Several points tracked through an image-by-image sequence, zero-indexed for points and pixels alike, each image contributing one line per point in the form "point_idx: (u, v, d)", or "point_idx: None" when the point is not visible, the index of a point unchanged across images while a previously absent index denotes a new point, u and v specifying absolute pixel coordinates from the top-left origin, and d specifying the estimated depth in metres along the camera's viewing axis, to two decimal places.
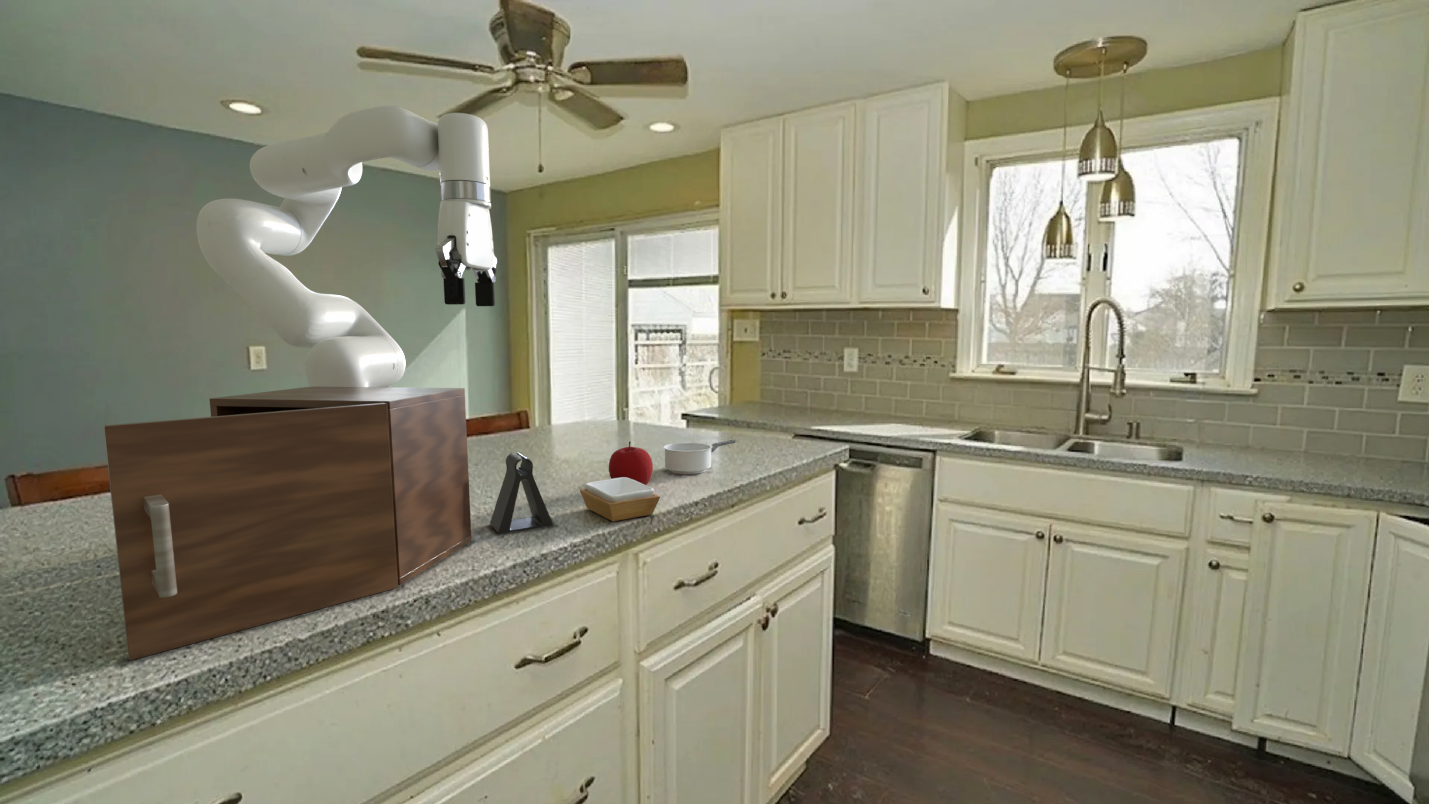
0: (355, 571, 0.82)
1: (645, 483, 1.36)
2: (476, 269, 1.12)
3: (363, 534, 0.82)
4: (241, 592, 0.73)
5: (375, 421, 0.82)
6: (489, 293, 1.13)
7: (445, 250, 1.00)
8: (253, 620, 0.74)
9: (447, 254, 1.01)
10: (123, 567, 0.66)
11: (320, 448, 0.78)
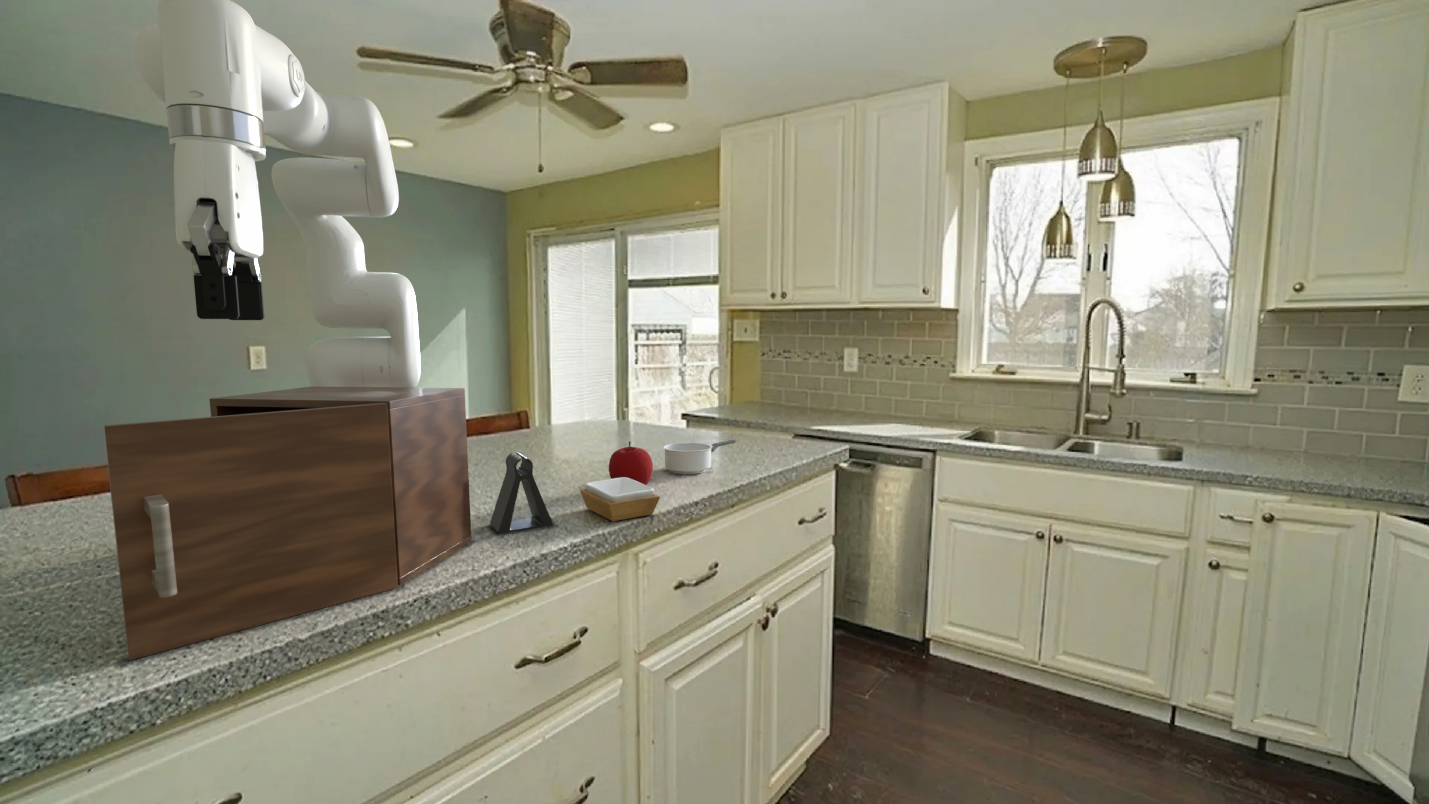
0: (355, 571, 0.82)
1: (645, 483, 1.36)
2: None
3: (363, 534, 0.82)
4: (241, 592, 0.73)
5: (375, 421, 0.82)
6: (255, 299, 0.70)
7: (207, 229, 0.59)
8: (253, 620, 0.74)
9: (209, 235, 0.59)
10: (123, 567, 0.66)
11: (320, 448, 0.78)
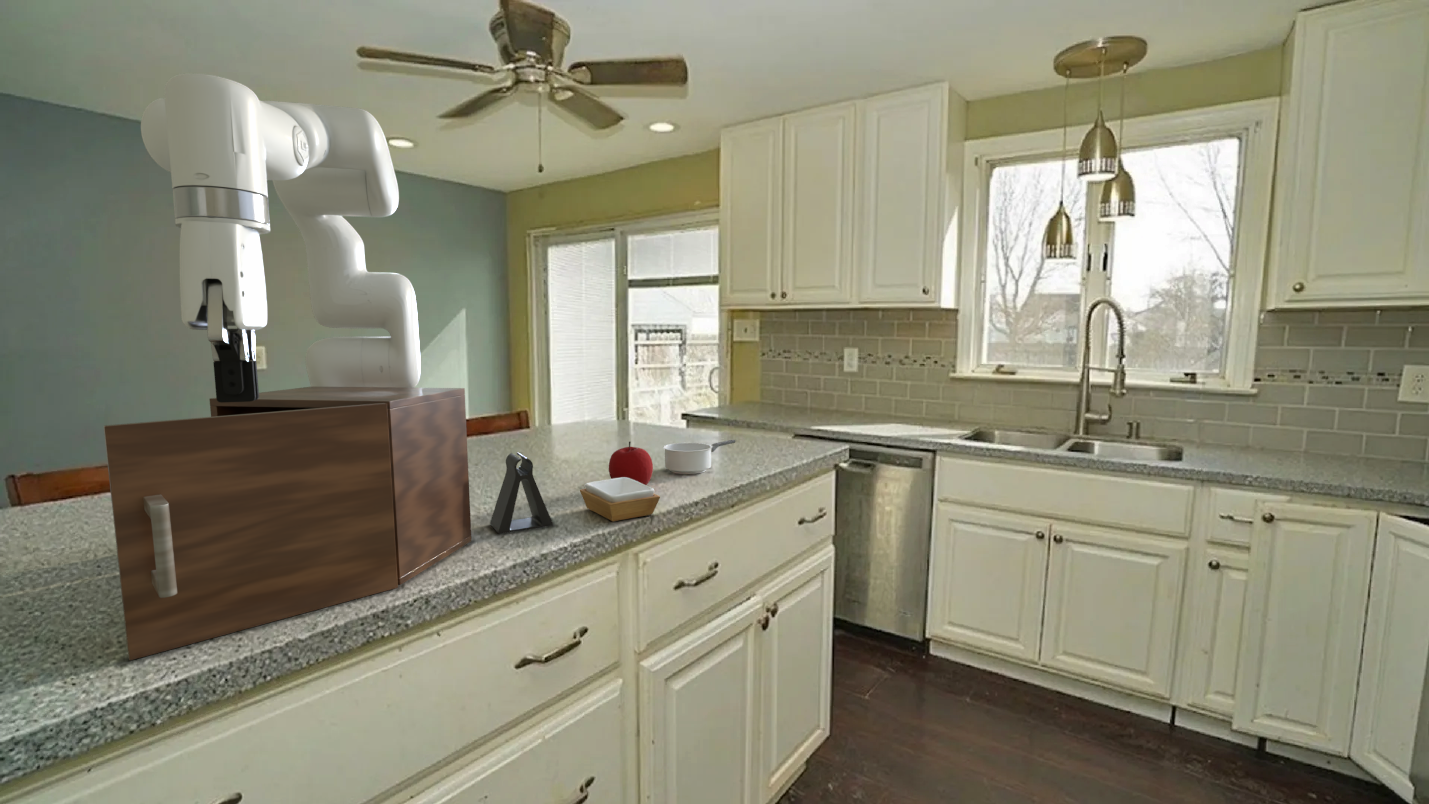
0: (355, 571, 0.82)
1: (645, 483, 1.36)
2: None
3: (363, 534, 0.82)
4: (241, 592, 0.73)
5: (375, 421, 0.82)
6: None
7: (225, 334, 0.62)
8: (253, 620, 0.74)
9: (227, 334, 0.63)
10: (123, 567, 0.66)
11: (320, 448, 0.78)
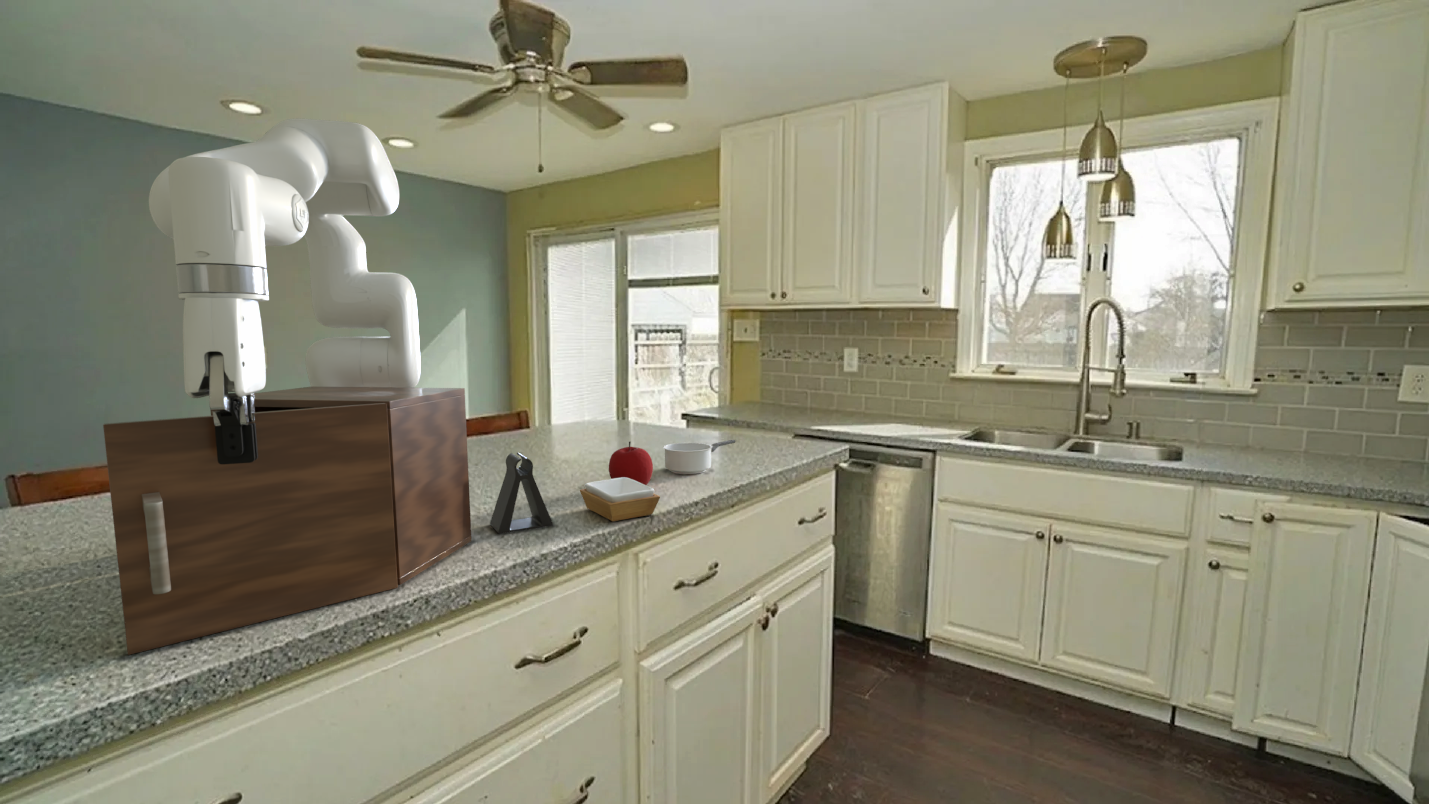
0: (354, 570, 0.82)
1: (645, 483, 1.36)
2: (228, 395, 0.70)
3: (362, 534, 0.82)
4: (239, 589, 0.74)
5: (374, 421, 0.82)
6: None
7: (226, 403, 0.66)
8: (251, 617, 0.75)
9: (228, 402, 0.66)
10: (121, 563, 0.67)
11: (319, 448, 0.78)
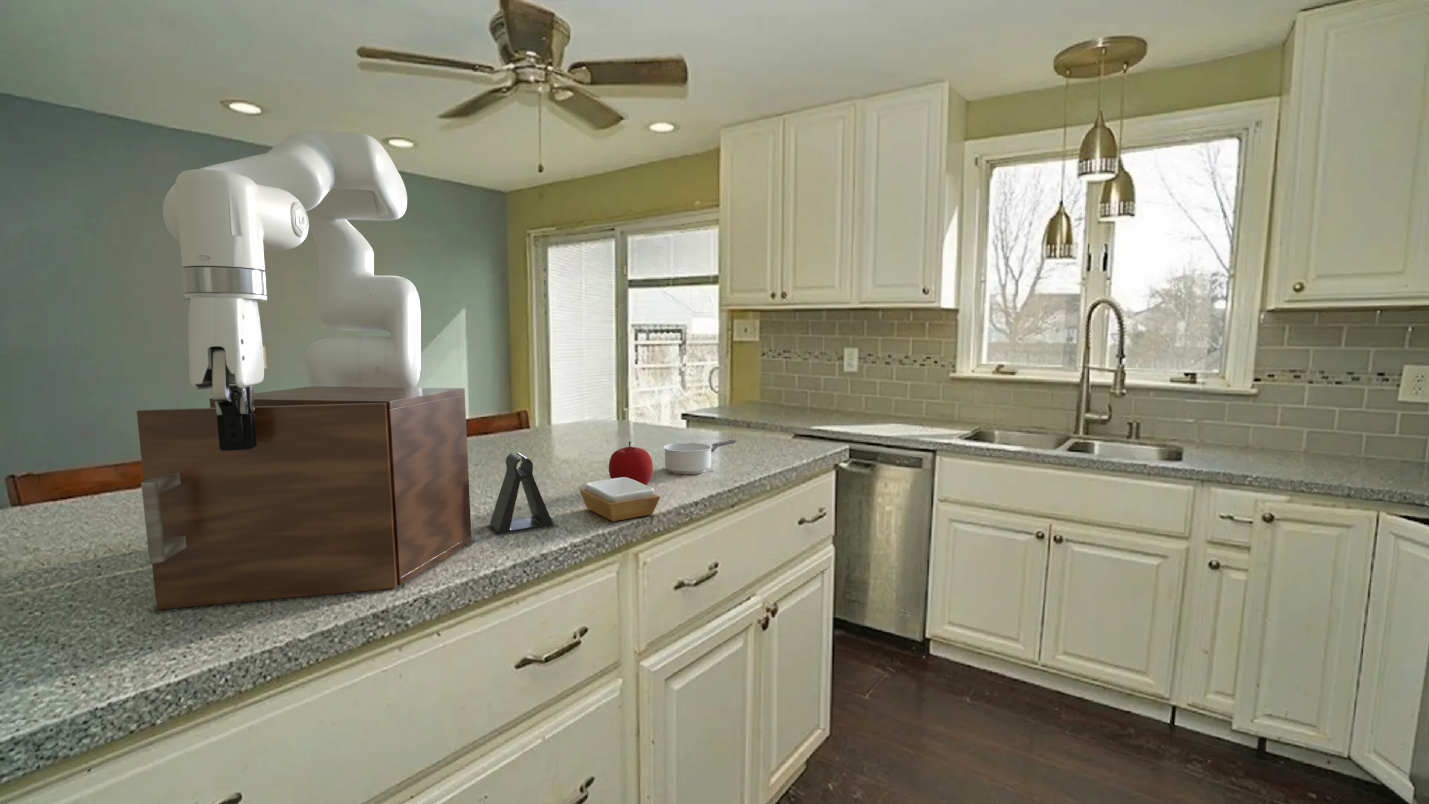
0: (352, 565, 0.84)
1: (645, 483, 1.36)
2: (229, 387, 0.77)
3: (360, 530, 0.83)
4: (246, 567, 0.81)
5: (372, 420, 0.82)
6: None
7: (227, 394, 0.72)
8: (257, 594, 0.81)
9: (229, 393, 0.73)
10: None
11: (318, 443, 0.81)
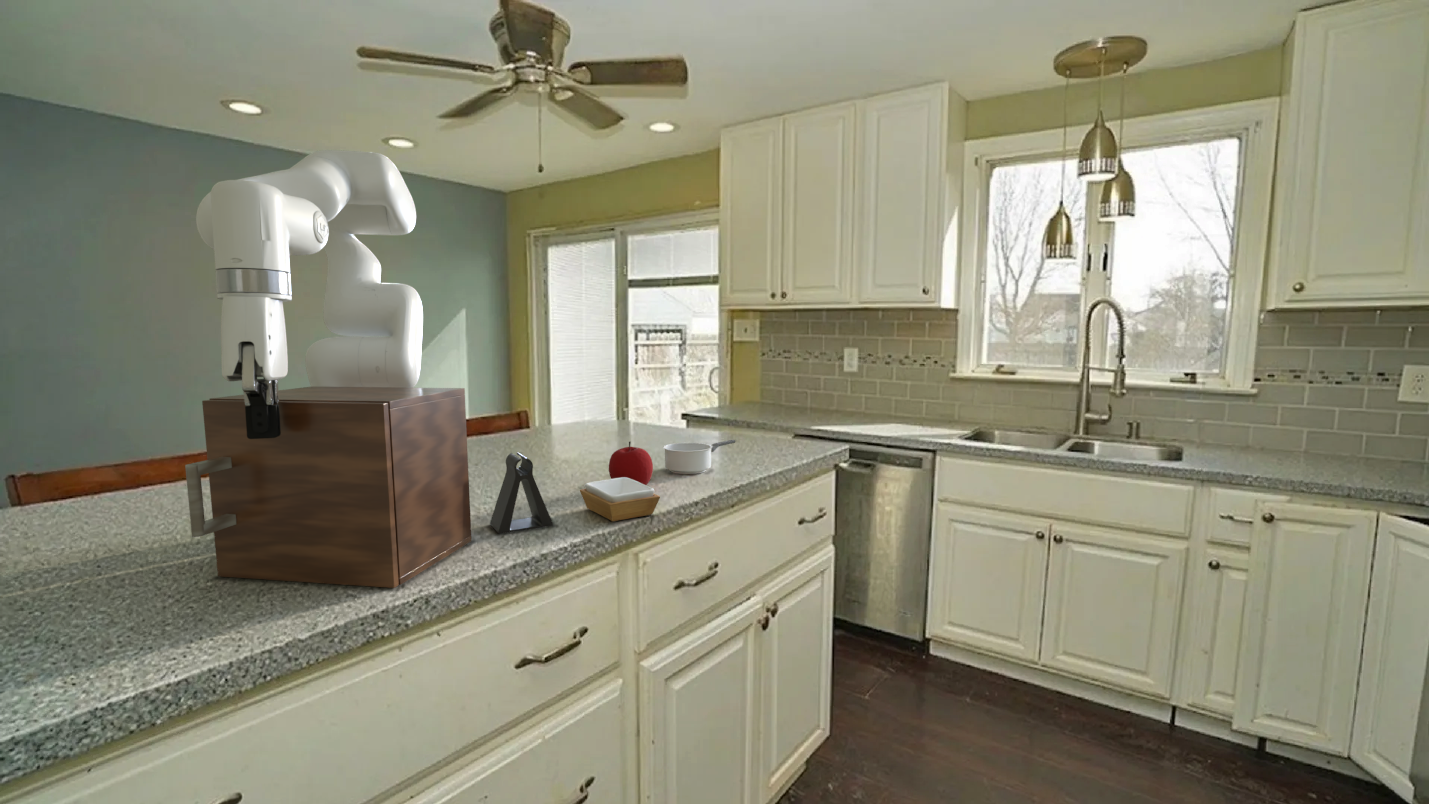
0: (358, 559, 0.86)
1: (645, 483, 1.36)
2: (256, 380, 0.83)
3: (364, 526, 0.85)
4: (278, 549, 0.87)
5: (373, 420, 0.83)
6: None
7: (255, 385, 0.78)
8: (286, 575, 0.88)
9: (257, 385, 0.79)
10: (213, 506, 0.88)
11: (330, 439, 0.84)
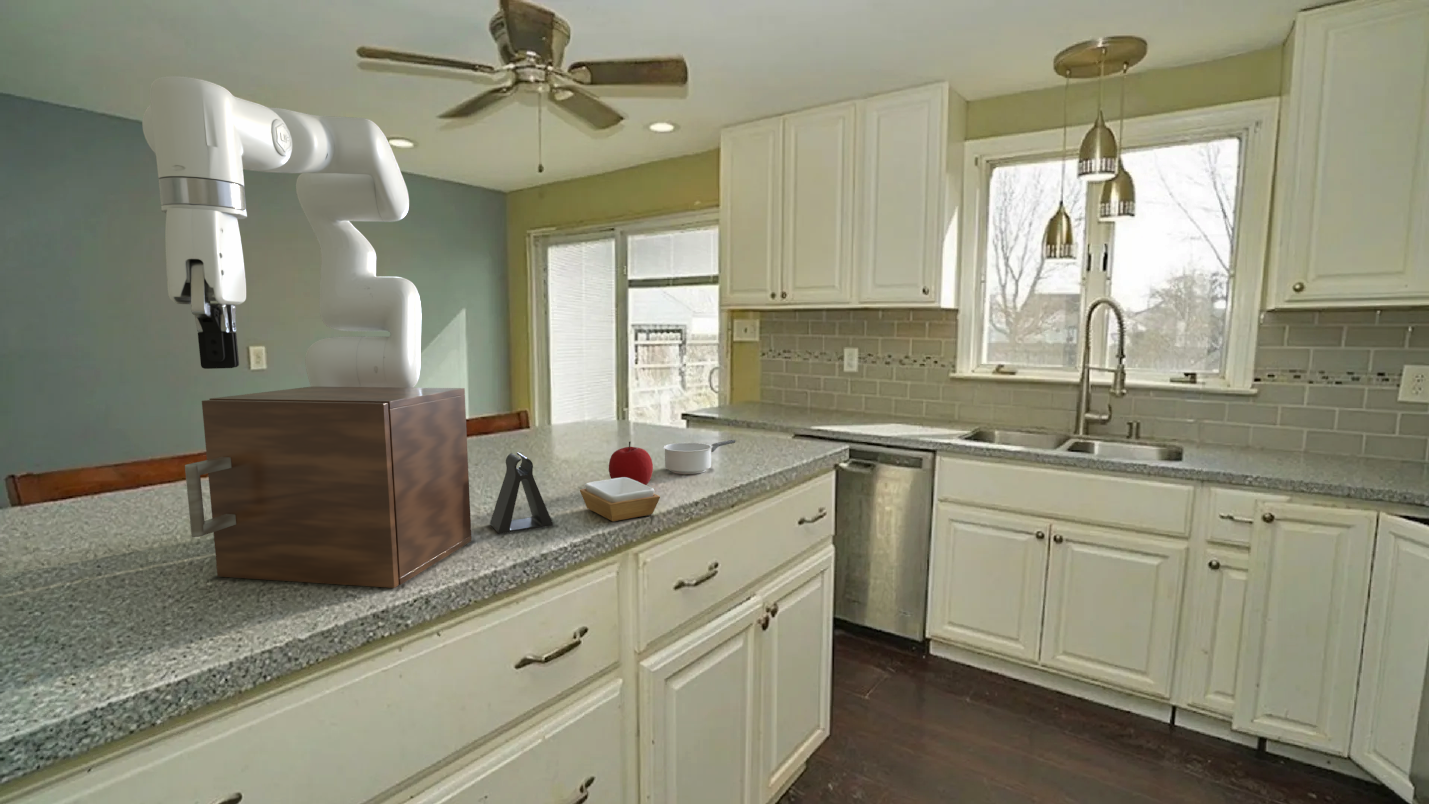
0: (358, 559, 0.86)
1: (645, 483, 1.36)
2: None
3: (364, 527, 0.85)
4: (278, 549, 0.87)
5: (373, 420, 0.83)
6: None
7: (206, 308, 0.71)
8: (286, 575, 0.88)
9: (209, 308, 0.72)
10: (212, 506, 0.88)
11: (329, 439, 0.84)
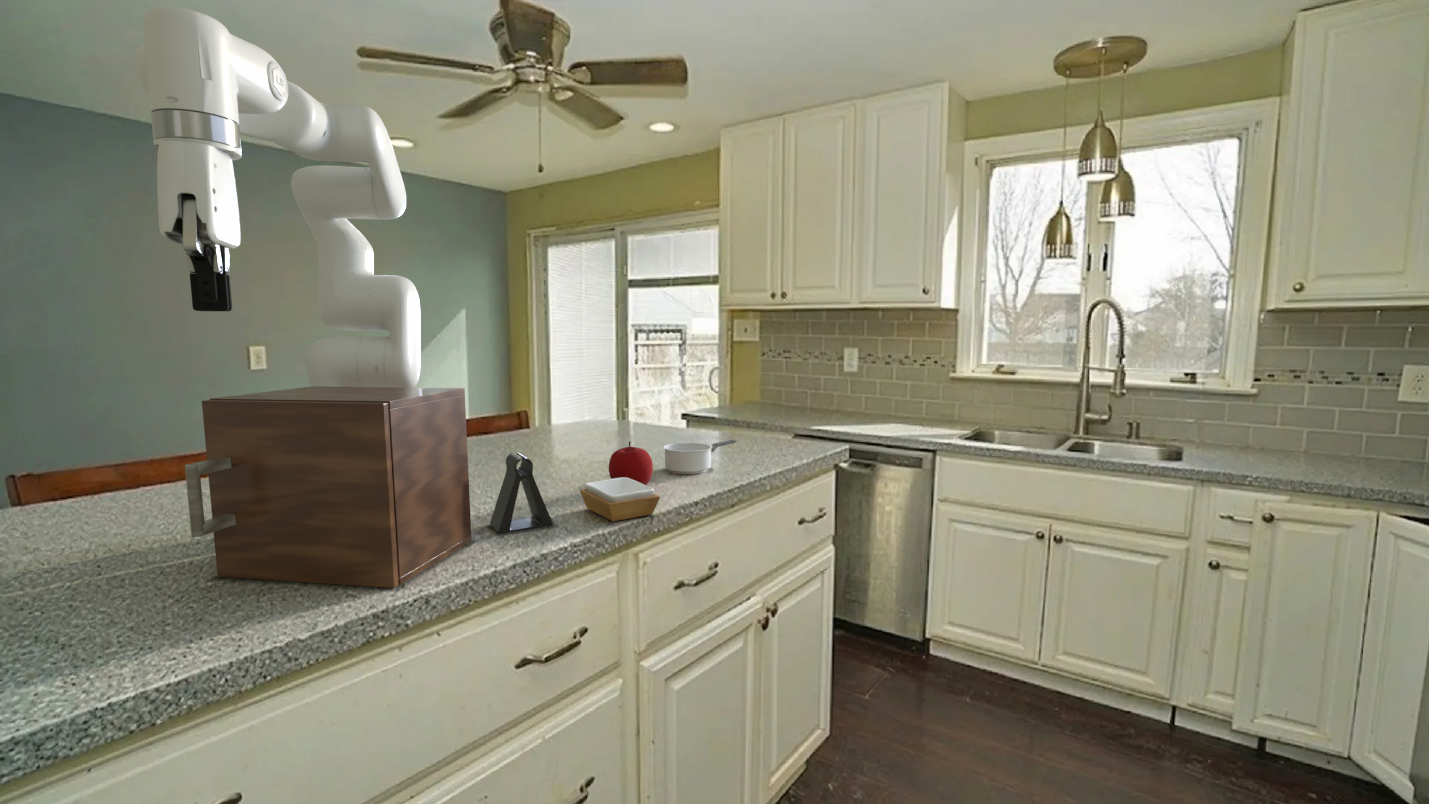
0: (358, 559, 0.86)
1: (645, 483, 1.36)
2: None
3: (364, 527, 0.85)
4: (278, 549, 0.87)
5: (373, 420, 0.83)
6: None
7: (199, 245, 0.69)
8: (286, 575, 0.88)
9: (201, 246, 0.70)
10: (212, 506, 0.88)
11: (329, 439, 0.84)
